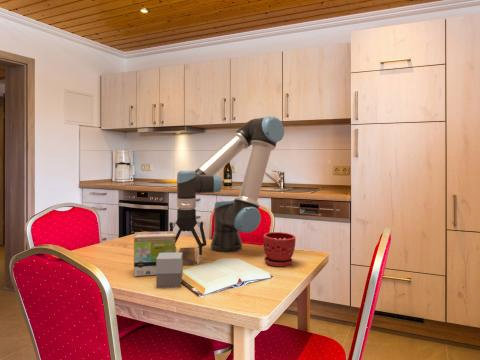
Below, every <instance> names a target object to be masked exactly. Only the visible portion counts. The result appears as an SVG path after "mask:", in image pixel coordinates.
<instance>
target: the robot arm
mask: <svg viewBox="0 0 480 360" xmlns="http://www.w3.org/2000/svg"><path fill="white" fill-rule="evenodd" d="M284 135H285V127H284V125H283V121H282V120H280V118H278V117H276V116H265V117H258V118H252V119H250V120H248V121H246V122H245V123H244V124H242V126H241V127H240V128H238V129H237V130H236V131H234V133H233V134H232V138H230V139H229V140H228V141H227V142H226V143H224V145H223V146H221V147H220V148H219V149H218V150H217V151H215V152H214V153H213V154H212V155H211V156H210V157H209V158H207V160H205V161H204V162H203V164H201V165H200V166H199V167H198V168H196V169H195V170H179V171H178V172H177V175H176V176H177V177H176V188H177V189H176V192H177V194H176V197H177V198H176V199H177V200H176V208H177V211H176V214H177V215H176V217H177V219H176V220H175V221H170V222H169V231H173V232H174V228H175V227H176V226H177V228H178V231H177V233H176V235H175V238H176V240H175V244H176V243H177V242H178V240H179V237H180V235H181V233H182V232H191V234H192V236H193V238H194V239H195V242H196V244H197V245H198V246H197V247H196V248H197V249H196V251H197V252H196V254H197V255H196V256H197V257H196V262H197V264H200V256H202V255H203V247H207V240H206V239H207V238H206V234H205V229H204V221H197V214H196V211H197V210H196V207H197V194H210V193H211V194H214V193H219V192H221V190H222V188H223V180H222V177H221V175H218V173H219V172H220V171H221V170H222V169H223V168H224V167H225V166H226V165H228V164H229V163H230V161H232V160H233V159H234V158H235V157H236V156H237V155H239V153H241V152H242V151H243V150H246V149H248V148H249V147H251V146H252V149H251V153H250V156H249V159H248V163H247V166H246V170H245V174H244V177H243V181H242V183H241V184H242V185H241V187H240V191H239V194H238V196H237V197H236V198H234V199H233V200H223V201H216V202H214V208H213V210H214V213H213V214H214V220H213V221H214V224H213V225H214V232H213V236H212V238H211V242H210V249H211V250H213V251H214V252H220V253H222V252H223V253H230V252H238V251H240V250H242V249H243V242H242V239H241V235H240V233H248V234H249V233H252V232H254V231H255V230H257V228H258V227H259V226H260V223H261V220H262V215H261V214H260V213H261V212H260V211H259V209H260V204H259V202H258V200H259V195H260V192H261V188H262V185H263V182H264V181H263V180H264V178H265V173H266V170H267V166H268V163H269V160H270V156H271V153H272V152H273V151H274V150H275V149H276V146H277V144H278V142H280V141H282V139H283V138H284ZM195 226H197V227H198V228H199V231H200V235H201V236H200V237H201V239H200V237H199V235H198V233H197V231H196V229H195ZM239 232H240V233H239ZM201 240H202V241H201ZM175 253H177V246H175Z"/></svg>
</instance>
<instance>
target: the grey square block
mask: <svg viewBox="0 0 480 360" xmlns="http://www.w3.org/2000/svg"><path fill="white" fill-rule="evenodd" d="M181 270H182V252H179V251H178V252H177V251H176V253H159V255H158V257H157V259H156V274H169V273H181Z"/></svg>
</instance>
